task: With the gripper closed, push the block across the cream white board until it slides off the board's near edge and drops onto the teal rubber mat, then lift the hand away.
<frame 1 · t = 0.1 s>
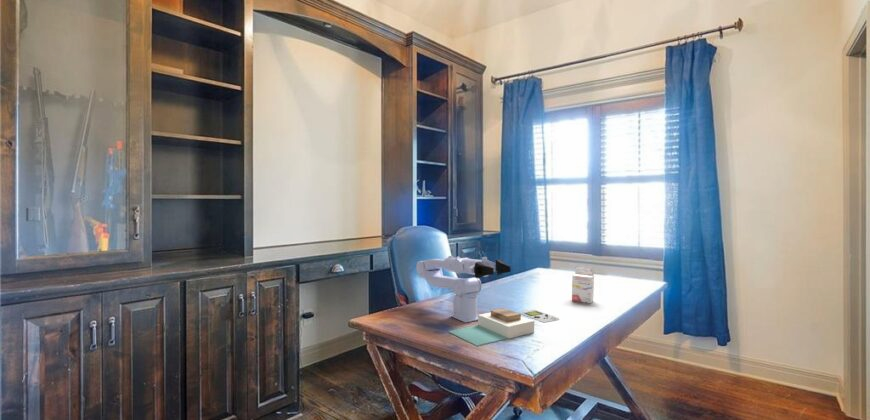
hand: (501, 270, 141), 22 cm above the table, tool horizontal, fingers open, 7 cm apart
block: (505, 317, 146), point 4 cm above the table, touching cream white board
ink cartridge box: (582, 301, 185), on the table
handheld gaming device: (538, 317, 162), on the table
mat: (477, 335, 139), on the table
cream white board: (505, 328, 146), on the table
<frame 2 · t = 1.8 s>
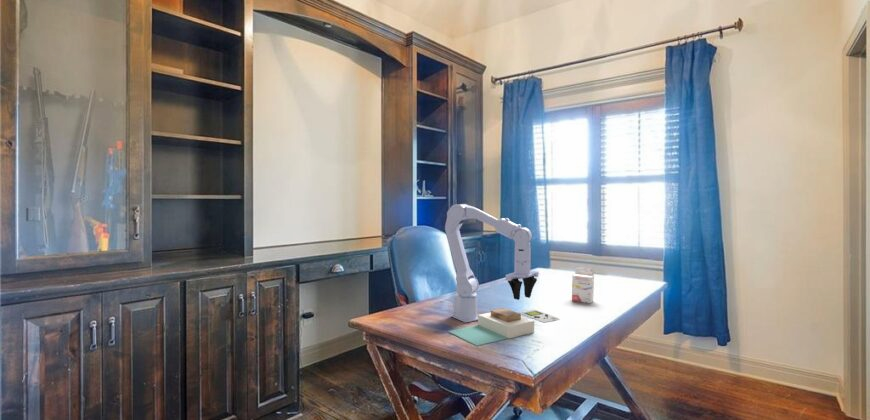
hand: (522, 298, 150), 10 cm above the table, tool pointing down, fingers open, 5 cm apart
nothing on the table moved.
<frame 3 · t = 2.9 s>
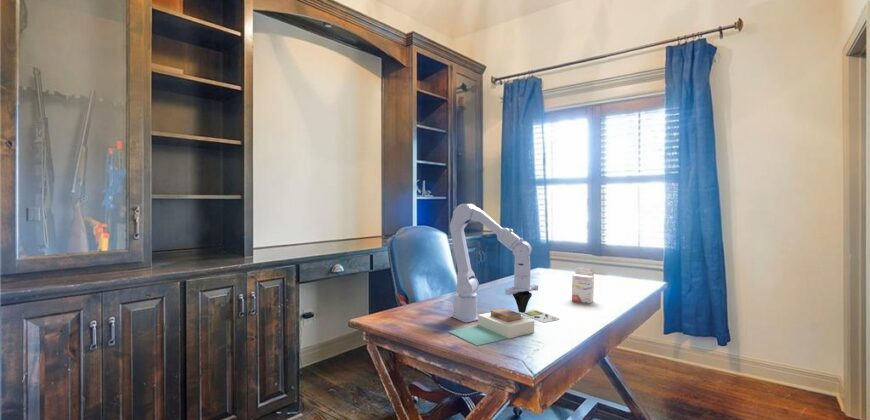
hand: (521, 312, 150), 5 cm above the table, tool pointing down, fingers closed
nothing on the table moved.
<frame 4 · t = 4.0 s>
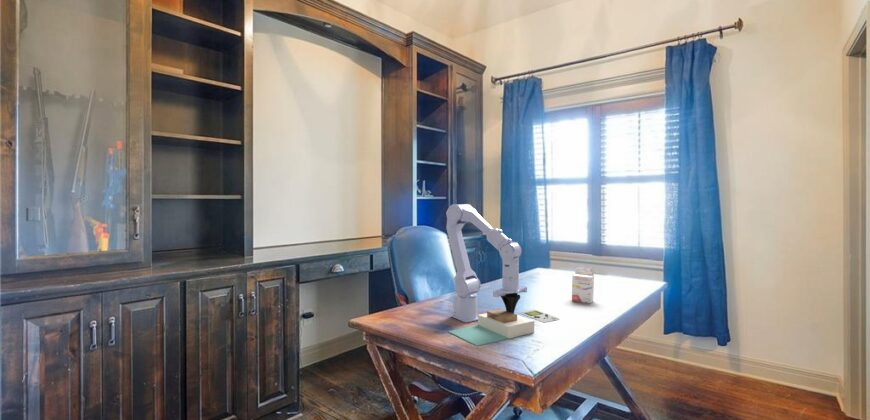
hand: (510, 314, 147), 5 cm above the table, tool pointing down, fingers closed
block: (501, 318, 145), point 4 cm above the table, touching cream white board, gripper
everything else where it was.
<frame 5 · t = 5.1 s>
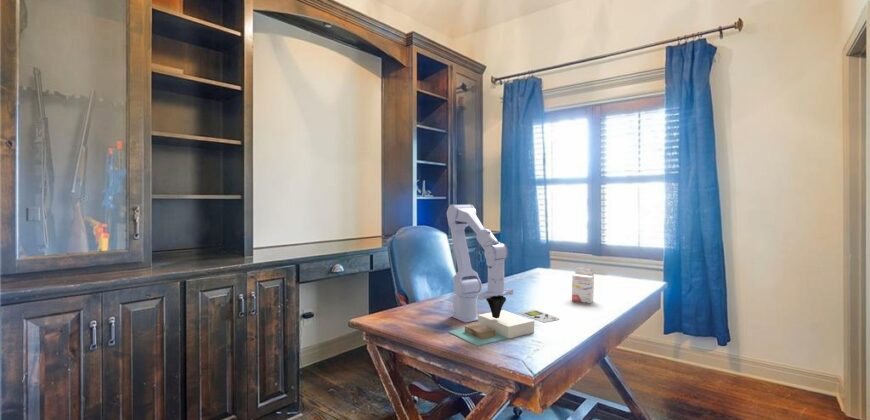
hand: (495, 317, 143), 5 cm above the table, tool pointing down, fingers closed
block: (479, 328, 140), point 2 cm above the table, tilted 180°, touching mat
everything else where it was.
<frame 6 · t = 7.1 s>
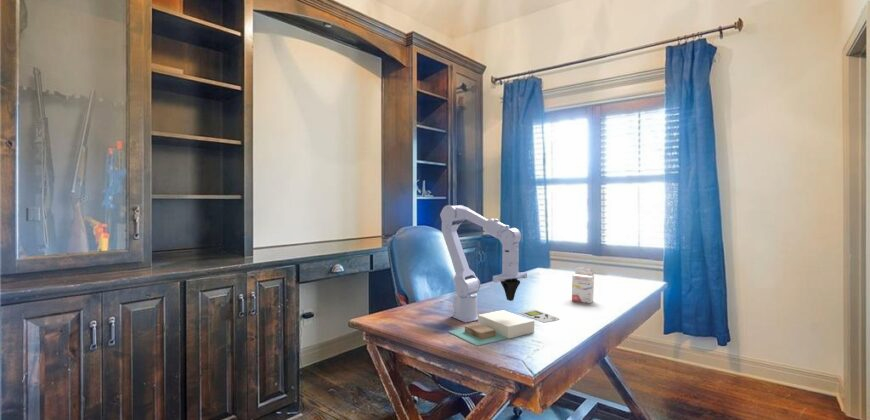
hand: (510, 300, 147), 10 cm above the table, tool pointing down, fingers closed
nothing on the table moved.
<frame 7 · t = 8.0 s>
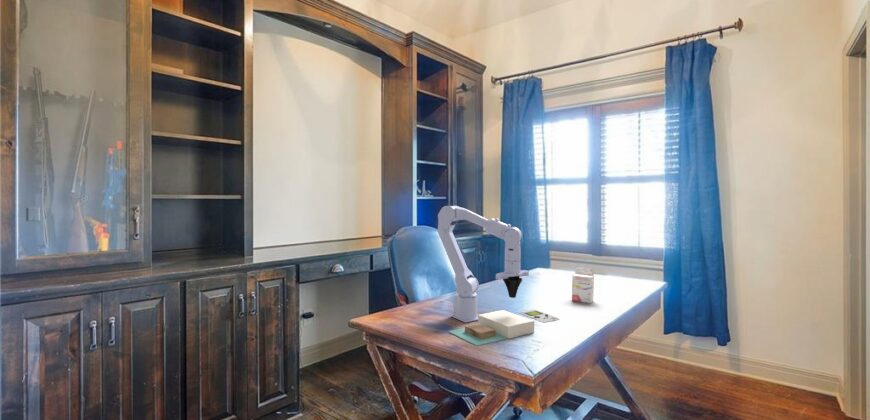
hand: (512, 297, 151), 10 cm above the table, tool pointing down, fingers closed
nothing on the table moved.
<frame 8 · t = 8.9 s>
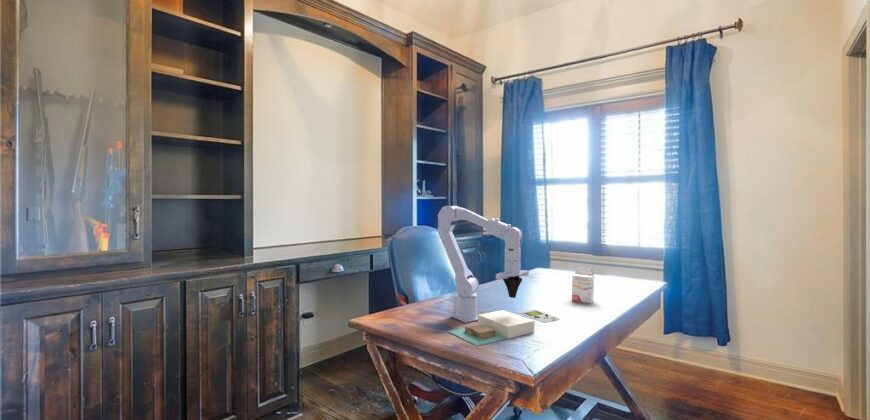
hand: (512, 297, 151), 10 cm above the table, tool pointing down, fingers closed
nothing on the table moved.
at the end: block point 2.3 cm above the table; block inside the target area on the mat (0.9 cm from its centre), point 2.3 cm above the mat's base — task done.
